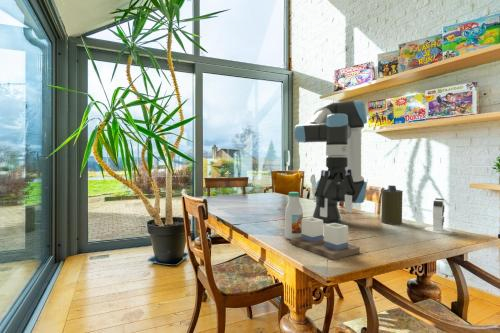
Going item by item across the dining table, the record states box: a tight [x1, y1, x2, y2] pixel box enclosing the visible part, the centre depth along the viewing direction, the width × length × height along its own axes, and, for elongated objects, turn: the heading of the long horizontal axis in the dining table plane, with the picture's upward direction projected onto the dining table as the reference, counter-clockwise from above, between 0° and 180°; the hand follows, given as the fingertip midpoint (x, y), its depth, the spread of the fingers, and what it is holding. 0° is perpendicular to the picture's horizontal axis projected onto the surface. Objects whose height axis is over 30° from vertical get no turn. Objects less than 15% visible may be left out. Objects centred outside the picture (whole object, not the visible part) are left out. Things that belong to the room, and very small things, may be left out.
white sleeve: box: [323, 222, 349, 250], centre depth 105 cm, size 6×6×8 cm
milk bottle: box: [284, 191, 304, 240], centre depth 124 cm, size 8×8×20 cm
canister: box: [380, 185, 404, 226], centre depth 153 cm, size 11×10×20 cm
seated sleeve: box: [302, 217, 324, 242], centre depth 115 cm, size 6×6×8 cm
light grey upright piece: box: [423, 197, 453, 235], centre depth 136 cm, size 12×11×15 cm
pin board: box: [290, 235, 361, 261], centre depth 110 cm, size 22×14×7 cm, turn 33°
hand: (336, 214), depth 105 cm, fingers open, 13 cm apart
